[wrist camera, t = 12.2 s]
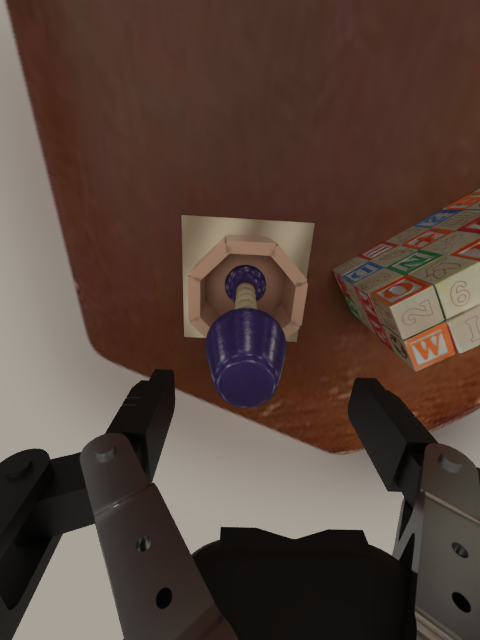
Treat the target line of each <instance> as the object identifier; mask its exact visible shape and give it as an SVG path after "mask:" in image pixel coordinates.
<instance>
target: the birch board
mask: <svg viewBox="0 0 480 640" xmlns="http://www.w3.org/2000/svg"><path fill="white" fill-rule="evenodd" d="M314 225H315V223H306V222H289V221H273V220H257V219H241V218H225V217H208V216H192V215H182V257H183V301H184V337H200V338H205V337H204V336H203V335H202V334H201V333H200V332H199V331H198V330H197V329H196V328H194V327H193V326H192V325H191V324H190V321H189V318H188V276H189V273H190V272H191V271H192V269H193V268H194V267H195V265H196V264H197V262H198V261H199V260H200V259H201V258H202V257H203V256H204V255H206V254H207V253H208V252H209V251H210V250H211V249H212V248H213V247H214V246H215V245H216V244H217V243H218V242H219V241H220V240H221V239H222V238H223V237H224V236H227V237H228V234H233V235H250V236H266V237H269V238H271V239H272V240H273V241H274V242H276V243H277V244H278V245H279V246H280V247H281V248H282V250H283V251H284V252H285V253H286V254H287V256H288V257H289V258H290V259H291V261H292V262H293V263H294V264H295V266H296V267H297V268H298V269H299V271H300V272H301V273H302V274H303V275H304V277H305V278H306V277H307V271H308V264H309V258H310V251H311V245H312V238H313V232H314ZM283 272H284V271H283ZM297 336H298V330H297V331H296V332H294V333H293V334H292V335H290V336H289V337H288V338H286V341H291V342H297Z"/></svg>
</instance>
